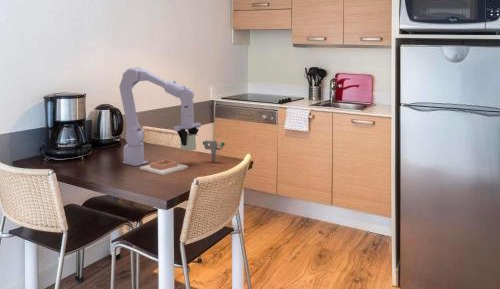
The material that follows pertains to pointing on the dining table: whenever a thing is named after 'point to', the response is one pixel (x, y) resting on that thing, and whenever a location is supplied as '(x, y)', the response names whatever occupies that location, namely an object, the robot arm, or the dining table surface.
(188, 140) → the striped green box
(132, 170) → the dining table surface
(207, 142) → the mechanical component
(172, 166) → the duct plate
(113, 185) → the dining table surface
